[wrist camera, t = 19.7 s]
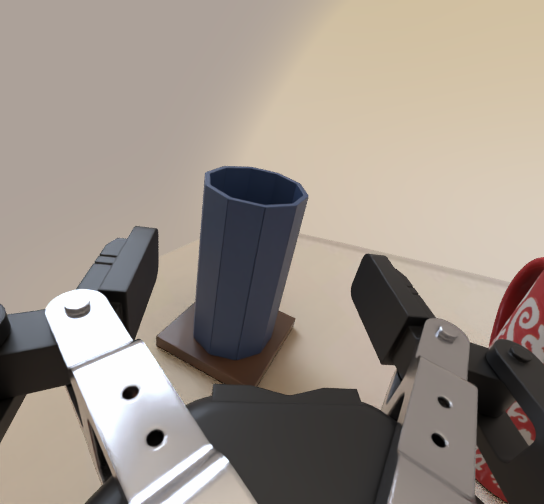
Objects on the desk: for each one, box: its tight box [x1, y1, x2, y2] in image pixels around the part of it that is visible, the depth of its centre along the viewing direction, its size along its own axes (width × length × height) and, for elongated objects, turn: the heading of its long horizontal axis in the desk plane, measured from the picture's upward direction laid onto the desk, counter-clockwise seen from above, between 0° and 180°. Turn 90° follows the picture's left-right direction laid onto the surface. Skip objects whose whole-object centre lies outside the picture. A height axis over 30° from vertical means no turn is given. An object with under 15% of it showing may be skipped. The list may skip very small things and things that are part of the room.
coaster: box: [156, 303, 295, 387], centre depth 25 cm, size 8×8×1 cm
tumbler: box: [193, 166, 308, 360], centre depth 22 cm, size 6×6×12 cm
